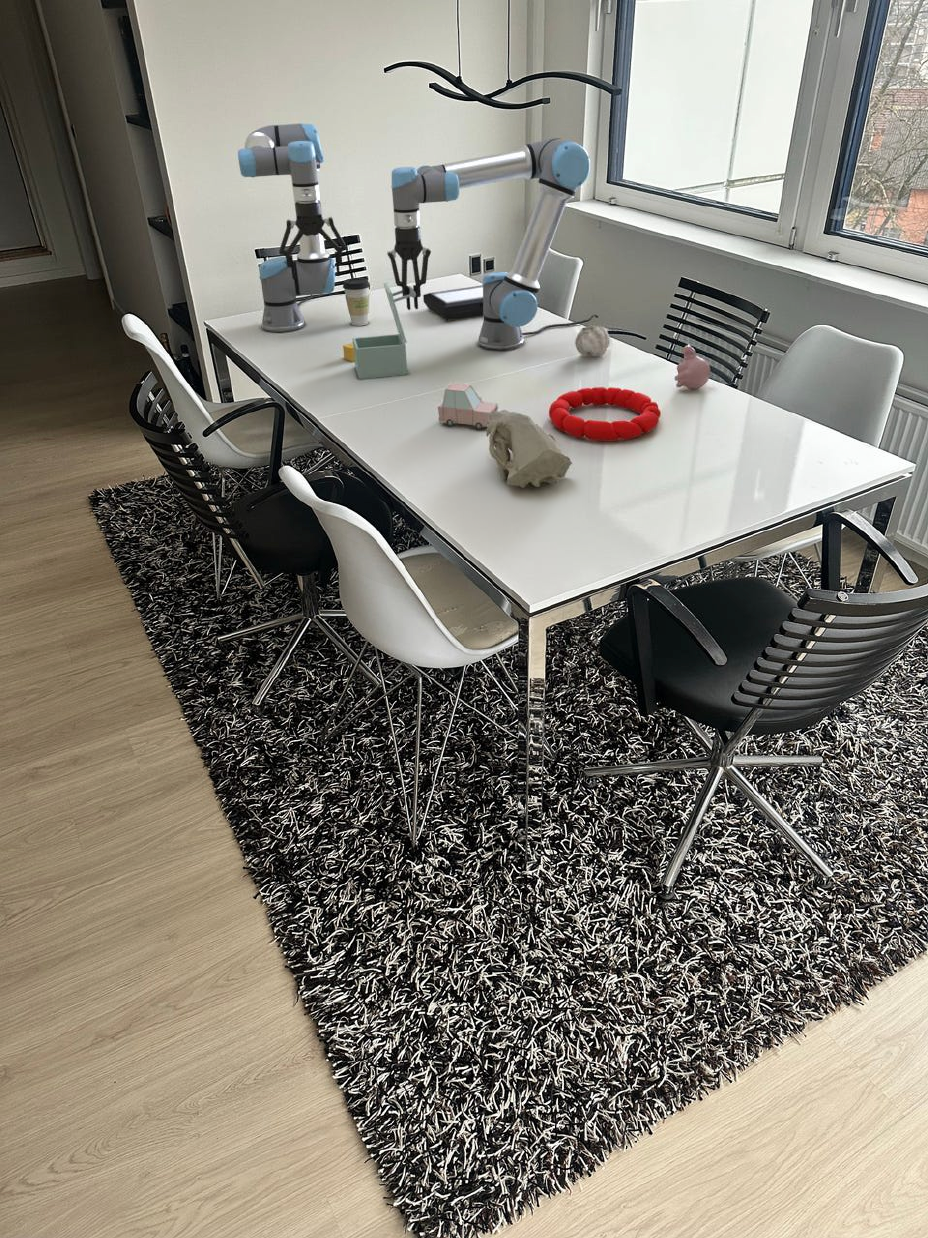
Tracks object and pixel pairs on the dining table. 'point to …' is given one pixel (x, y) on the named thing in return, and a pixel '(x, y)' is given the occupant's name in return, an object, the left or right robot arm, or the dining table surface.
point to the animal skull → (525, 450)
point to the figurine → (692, 370)
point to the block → (349, 352)
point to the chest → (380, 356)
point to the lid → (394, 309)
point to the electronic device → (456, 303)
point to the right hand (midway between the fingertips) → (412, 308)
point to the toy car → (465, 406)
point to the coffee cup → (357, 300)
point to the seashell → (592, 340)
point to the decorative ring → (604, 428)
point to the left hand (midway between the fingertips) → (316, 276)
